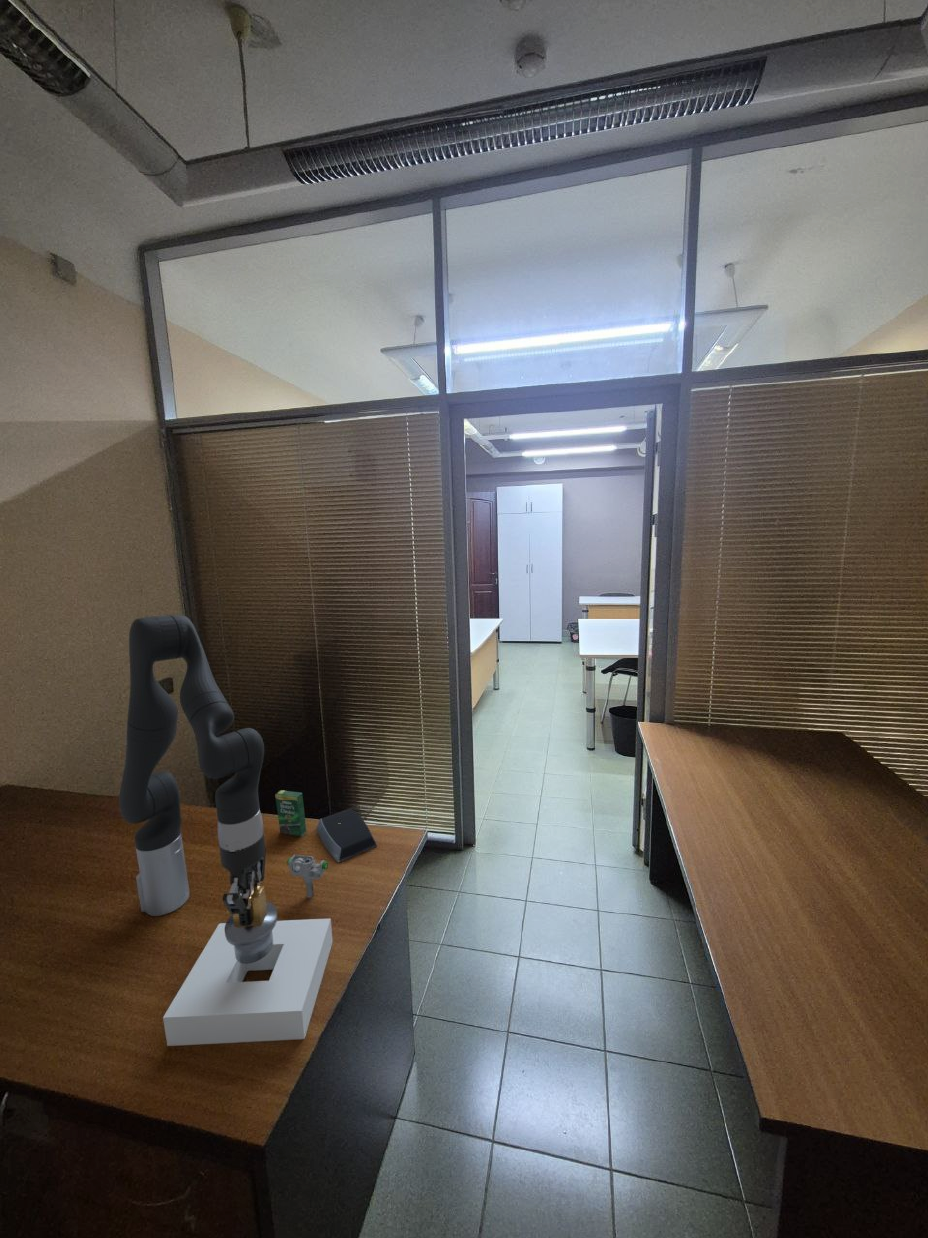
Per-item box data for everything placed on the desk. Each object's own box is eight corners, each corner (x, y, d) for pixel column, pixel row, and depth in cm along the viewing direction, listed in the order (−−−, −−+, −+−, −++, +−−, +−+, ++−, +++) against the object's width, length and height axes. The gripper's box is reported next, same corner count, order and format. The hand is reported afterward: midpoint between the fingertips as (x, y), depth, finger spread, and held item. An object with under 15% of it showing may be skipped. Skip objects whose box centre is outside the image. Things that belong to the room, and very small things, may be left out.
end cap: (219, 971, 85) (211, 912, 83) (241, 929, 94) (234, 876, 92) (269, 968, 86) (262, 910, 83) (286, 927, 95) (281, 874, 92)
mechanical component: (326, 903, 113) (323, 866, 111) (288, 897, 115) (284, 861, 113) (332, 894, 116) (329, 858, 114) (295, 888, 118) (291, 853, 116)
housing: (167, 1046, 81) (162, 1017, 80) (222, 947, 101) (219, 923, 100) (304, 1039, 82) (301, 1010, 81) (332, 942, 102) (330, 918, 101)
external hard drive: (335, 865, 126) (334, 852, 126) (314, 830, 142) (313, 818, 142) (379, 847, 134) (378, 834, 133) (354, 815, 149) (353, 803, 149)
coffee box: (278, 833, 140) (274, 793, 138) (284, 827, 143) (280, 788, 141) (301, 837, 138) (297, 797, 136) (306, 832, 141) (303, 792, 138)
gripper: (238, 814, 93) (246, 890, 96) (201, 862, 79) (212, 949, 82) (275, 812, 93) (283, 888, 96) (245, 860, 79) (255, 947, 82)
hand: (250, 916), depth 89 cm, fingers closed on end cap, 3 cm apart
